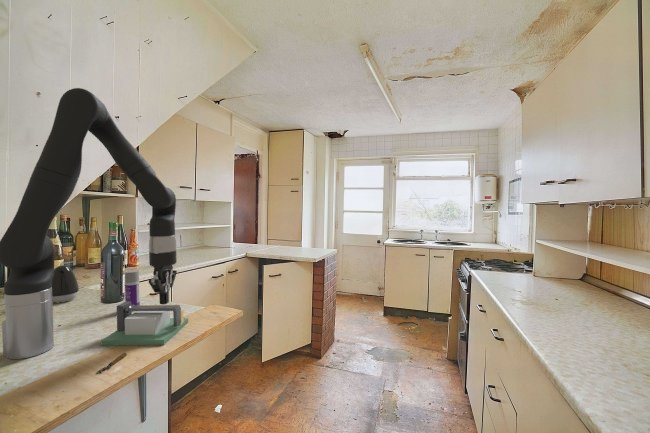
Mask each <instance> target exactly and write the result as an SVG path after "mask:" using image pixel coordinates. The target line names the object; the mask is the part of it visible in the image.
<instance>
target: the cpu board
mask: <svg viewBox="0 0 650 433" xmlns="http://www.w3.org/2000/svg"><path fill="white" fill-rule="evenodd" d="M130 305H131V302H125V301H124V302H122V303H120V304H117V305H116V328H117V329H116V330H115V331H114V332H112V333H111V334H109V335H107V336H106V337H105V338H103V339H101V346H165V345H166V344H167V343H168V342H169V341H170V340H171V339H172V338H173V337H174V336H176V335H177V334H178V333H179V332H180V331H181V330H183V328H184V327H186V325H187V324H189V318H188V317H185V318H184V308H181V323H180V324H179V325H178V326H174V321H173V317H172V318H171V316H170V315H171V314H170V313H171V311H134V312H133V311H128V312H127V313H125V312H124V309H125V308H126V307H128V306H130ZM132 312H133V313H132Z"/></svg>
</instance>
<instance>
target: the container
mask: <svg viewBox="0 0 650 433" xmlns="http://www.w3.org/2000/svg"><path fill="white" fill-rule="evenodd" d="M140 287H141V286H140V271H139V270H138V269H133V270H131V269H130V270H125V272H124V292H125V293H124V300H125V301H124V302H131V305H132V304H134V305H141V298H140Z"/></svg>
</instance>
